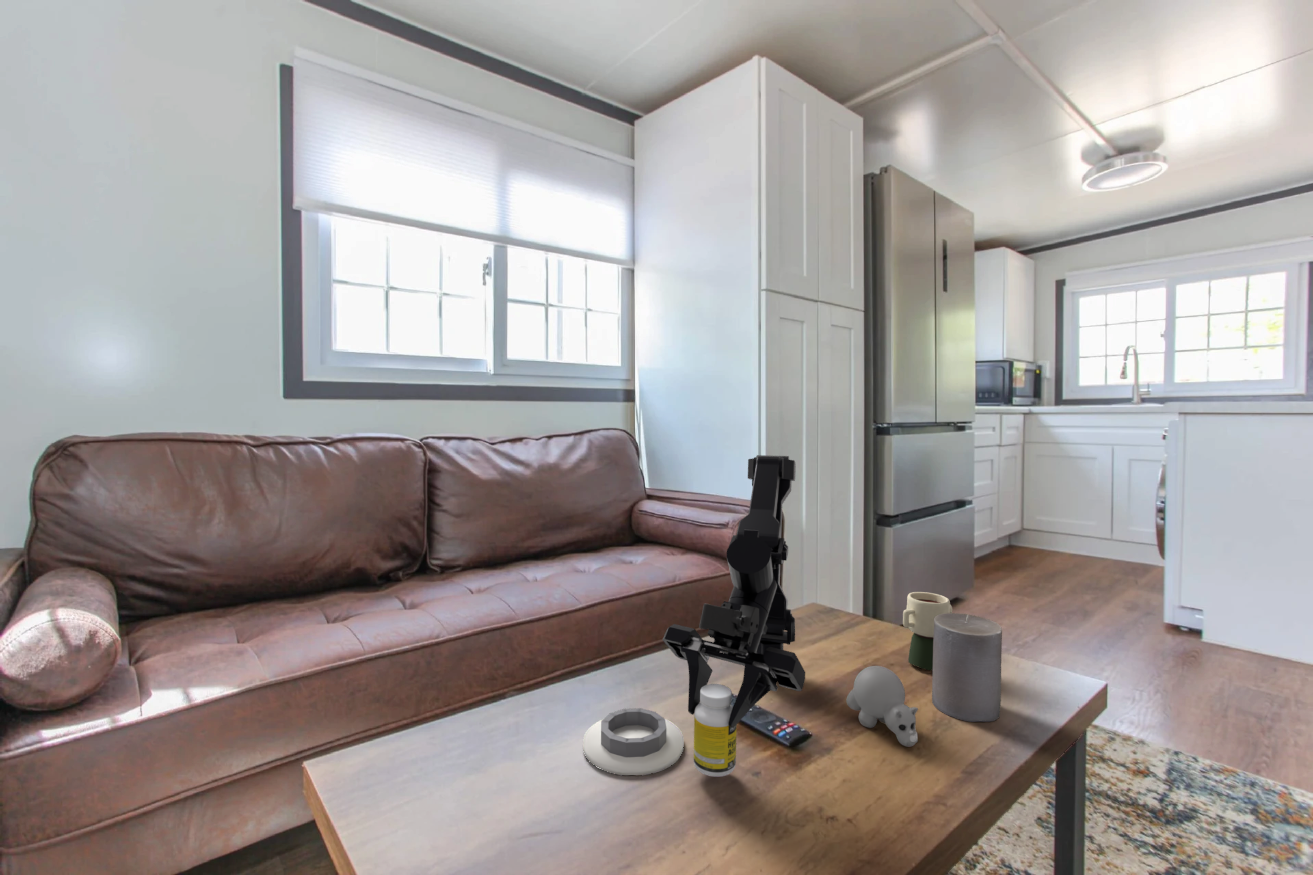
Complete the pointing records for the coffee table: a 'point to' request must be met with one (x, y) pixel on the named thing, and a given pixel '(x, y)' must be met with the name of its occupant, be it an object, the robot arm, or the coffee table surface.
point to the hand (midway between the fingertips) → (710, 719)
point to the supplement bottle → (714, 732)
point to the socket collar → (633, 742)
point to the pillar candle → (967, 667)
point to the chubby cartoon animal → (883, 703)
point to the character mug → (923, 625)
